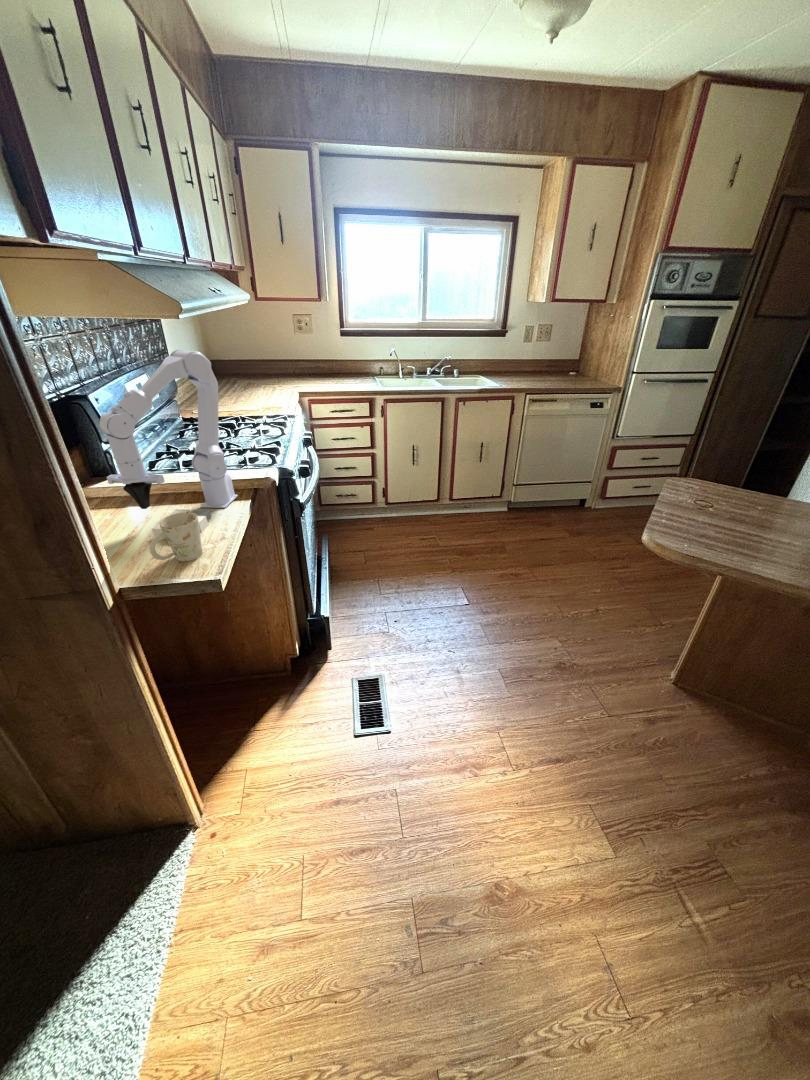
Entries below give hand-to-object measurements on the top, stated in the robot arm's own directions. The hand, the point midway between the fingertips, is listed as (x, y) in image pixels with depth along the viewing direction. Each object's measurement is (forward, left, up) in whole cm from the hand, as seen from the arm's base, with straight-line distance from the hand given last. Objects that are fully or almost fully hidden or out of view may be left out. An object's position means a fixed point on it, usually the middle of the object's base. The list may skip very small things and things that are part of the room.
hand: (145, 507), depth 117 cm
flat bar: (0, +11, -6) cm, 13 cm away
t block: (0, +9, -6) cm, 11 cm away
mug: (+16, +17, -6) cm, 25 cm away
